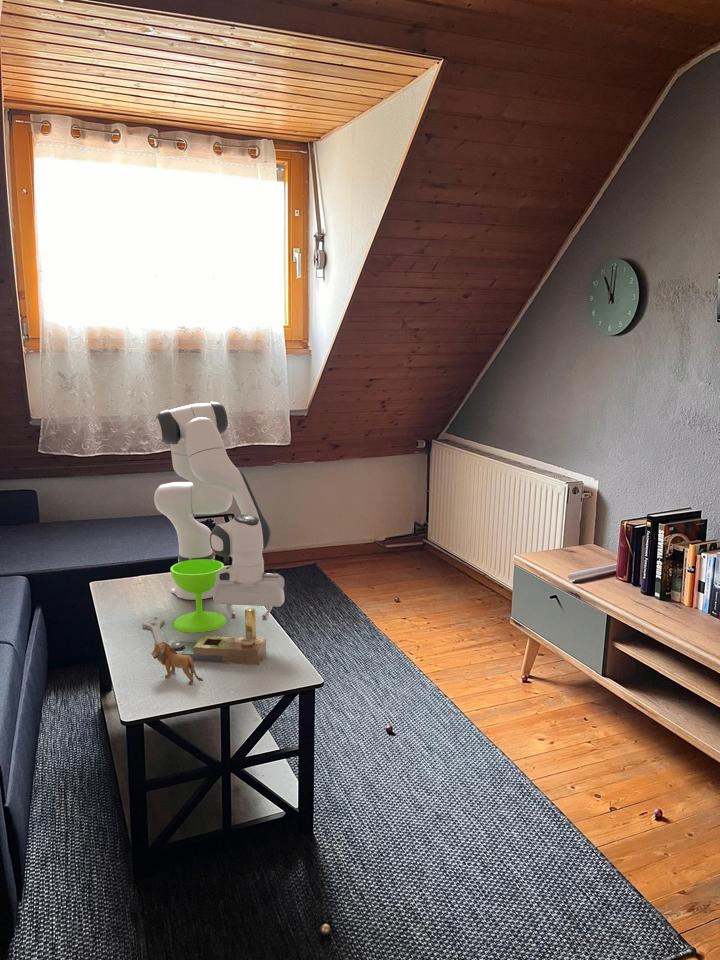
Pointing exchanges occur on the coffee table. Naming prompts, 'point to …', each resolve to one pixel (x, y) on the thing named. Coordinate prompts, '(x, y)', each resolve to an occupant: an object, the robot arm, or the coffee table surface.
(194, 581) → the wineglass
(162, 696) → the coffee table surface
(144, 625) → the adjustable wrench
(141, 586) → the coffee table surface
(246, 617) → the brass pin
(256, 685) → the coffee table surface
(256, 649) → the door latch
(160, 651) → the lion figurine
